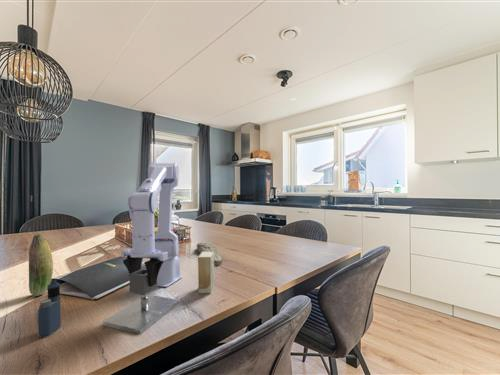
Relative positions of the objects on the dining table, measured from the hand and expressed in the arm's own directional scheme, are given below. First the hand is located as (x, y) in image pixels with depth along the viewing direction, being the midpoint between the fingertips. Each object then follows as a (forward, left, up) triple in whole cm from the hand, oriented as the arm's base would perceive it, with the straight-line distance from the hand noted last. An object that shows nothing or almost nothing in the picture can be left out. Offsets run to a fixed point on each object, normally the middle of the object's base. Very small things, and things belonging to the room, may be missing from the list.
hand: (144, 283), depth 67 cm
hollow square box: (0, 0, -2) cm, 2 cm away
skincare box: (-19, +9, -8) cm, 23 cm away
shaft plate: (0, 0, -8) cm, 8 cm away
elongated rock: (-56, -10, -9) cm, 57 cm away
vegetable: (+1, -41, -8) cm, 42 cm away
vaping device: (+14, -16, -8) cm, 23 cm away
